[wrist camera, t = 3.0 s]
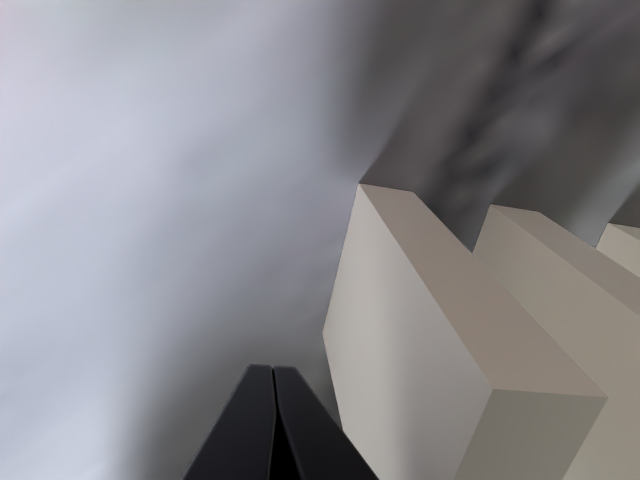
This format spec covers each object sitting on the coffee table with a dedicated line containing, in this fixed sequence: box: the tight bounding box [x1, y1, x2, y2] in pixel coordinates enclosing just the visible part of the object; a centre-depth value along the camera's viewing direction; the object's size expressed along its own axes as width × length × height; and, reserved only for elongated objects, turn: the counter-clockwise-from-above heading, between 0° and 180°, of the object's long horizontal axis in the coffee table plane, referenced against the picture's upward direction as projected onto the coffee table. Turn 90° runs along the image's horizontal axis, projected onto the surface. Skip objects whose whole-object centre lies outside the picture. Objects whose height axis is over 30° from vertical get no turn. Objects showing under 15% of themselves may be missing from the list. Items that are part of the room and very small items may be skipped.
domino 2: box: [472, 204, 640, 480], centre depth 11 cm, size 5×2×8 cm, turn 169°
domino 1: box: [322, 183, 609, 480], centre depth 10 cm, size 5×2×8 cm, turn 168°
